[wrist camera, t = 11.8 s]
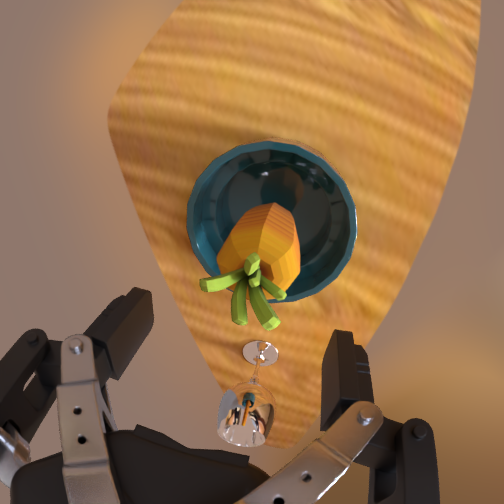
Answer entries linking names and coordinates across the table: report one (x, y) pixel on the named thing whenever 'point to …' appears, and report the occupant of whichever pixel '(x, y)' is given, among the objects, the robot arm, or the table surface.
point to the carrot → (258, 263)
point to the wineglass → (249, 402)
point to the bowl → (286, 195)
